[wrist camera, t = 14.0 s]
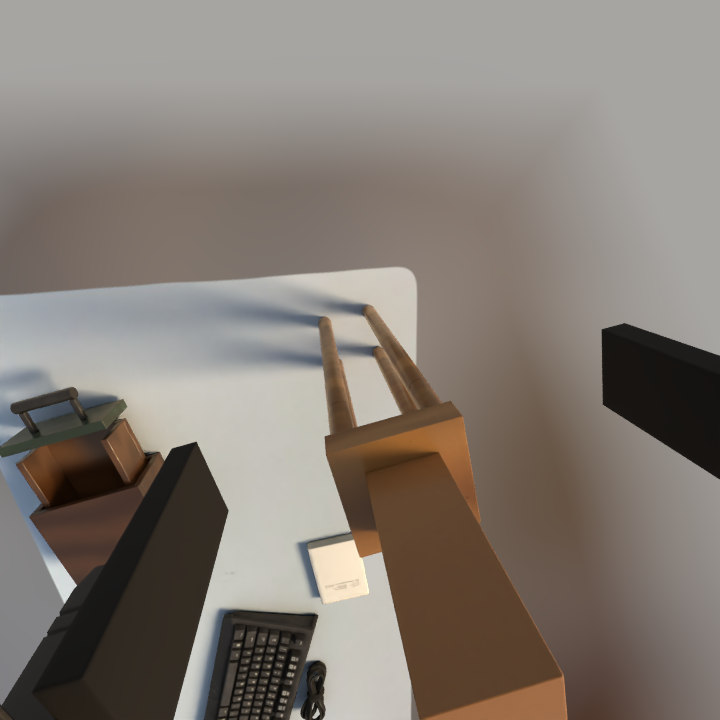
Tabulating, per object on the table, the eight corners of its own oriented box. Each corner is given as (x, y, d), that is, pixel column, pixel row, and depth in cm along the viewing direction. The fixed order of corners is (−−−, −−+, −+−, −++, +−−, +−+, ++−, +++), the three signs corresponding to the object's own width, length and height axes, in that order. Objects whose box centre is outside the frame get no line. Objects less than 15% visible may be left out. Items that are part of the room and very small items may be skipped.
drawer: (10, 396, 50) (-26, 418, 44) (108, 369, 50) (84, 388, 45) (80, 505, 56) (55, 536, 51) (166, 481, 56) (151, 509, 51)
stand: (315, 317, 52) (325, 454, 22) (374, 301, 52) (462, 415, 22) (331, 372, 55) (359, 558, 25) (387, 356, 55) (481, 523, 25)
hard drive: (357, 531, 65) (367, 586, 69) (307, 542, 64) (321, 596, 69) (358, 539, 63) (369, 594, 68) (307, 550, 63) (321, 605, 67)
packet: (364, 473, 23) (419, 720, 12) (439, 452, 23) (564, 675, 12) (381, 531, 24) (444, 798, 13) (451, 511, 25) (571, 758, 13)
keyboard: (225, 606, 67) (219, 633, 62) (351, 614, 71) (354, 640, 67) (199, 743, 78) (193, 775, 73) (310, 743, 82) (310, 772, 78)
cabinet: (64, 478, 55) (28, 517, 48) (159, 451, 56) (138, 486, 49) (112, 554, 61) (86, 599, 53) (199, 529, 61) (185, 571, 54)
